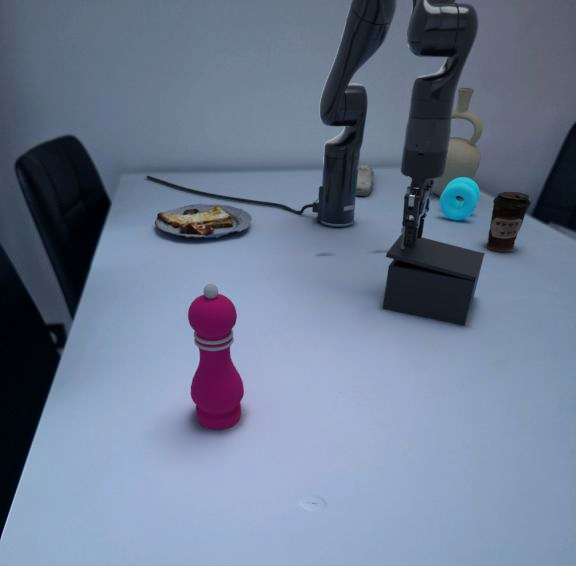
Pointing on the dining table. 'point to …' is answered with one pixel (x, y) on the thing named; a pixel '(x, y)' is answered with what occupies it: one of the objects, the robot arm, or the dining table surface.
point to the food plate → (203, 220)
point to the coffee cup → (507, 220)
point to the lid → (438, 256)
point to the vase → (461, 146)
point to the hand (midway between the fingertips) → (412, 242)
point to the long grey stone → (364, 179)
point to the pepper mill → (215, 361)
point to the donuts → (459, 208)
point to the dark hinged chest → (428, 293)
